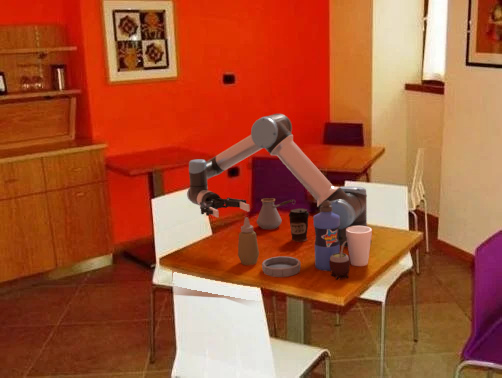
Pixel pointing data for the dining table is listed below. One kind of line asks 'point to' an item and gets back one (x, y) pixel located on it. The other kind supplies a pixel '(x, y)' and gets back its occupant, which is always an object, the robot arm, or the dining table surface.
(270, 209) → the coffee pot
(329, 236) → the water bottle
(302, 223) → the coffee cup
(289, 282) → the dining table surface
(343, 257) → the mate gourd
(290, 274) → the dish
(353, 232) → the foam cup
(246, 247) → the squeeze bottle
